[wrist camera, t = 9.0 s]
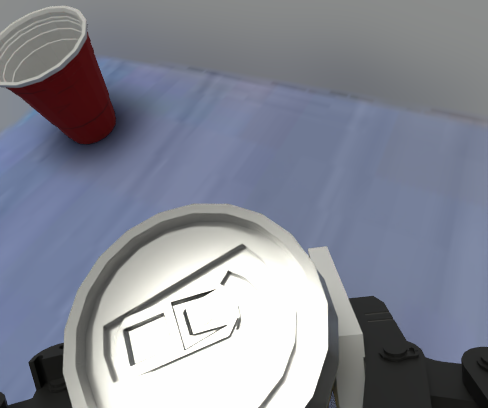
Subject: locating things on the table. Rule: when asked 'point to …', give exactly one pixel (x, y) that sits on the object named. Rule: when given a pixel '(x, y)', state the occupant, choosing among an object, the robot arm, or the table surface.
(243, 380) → the beer can
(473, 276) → the table surface
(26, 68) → the plastic cup
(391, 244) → the table surface
